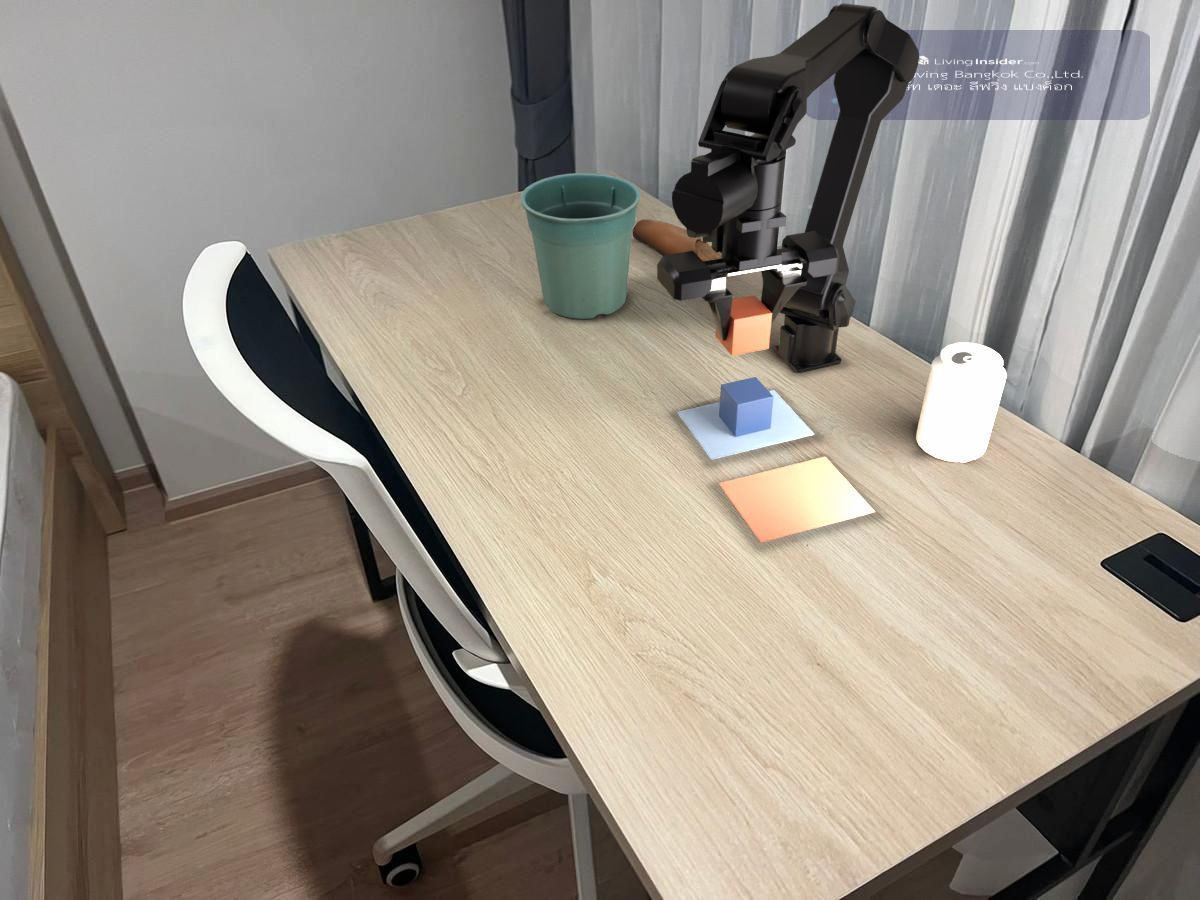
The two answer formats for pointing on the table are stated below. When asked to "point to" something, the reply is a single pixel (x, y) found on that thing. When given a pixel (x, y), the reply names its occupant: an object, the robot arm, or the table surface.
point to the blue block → (745, 406)
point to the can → (961, 402)
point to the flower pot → (582, 240)
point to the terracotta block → (747, 326)
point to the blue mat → (724, 443)
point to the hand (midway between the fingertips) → (742, 335)
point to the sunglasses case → (671, 239)
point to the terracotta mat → (794, 499)
